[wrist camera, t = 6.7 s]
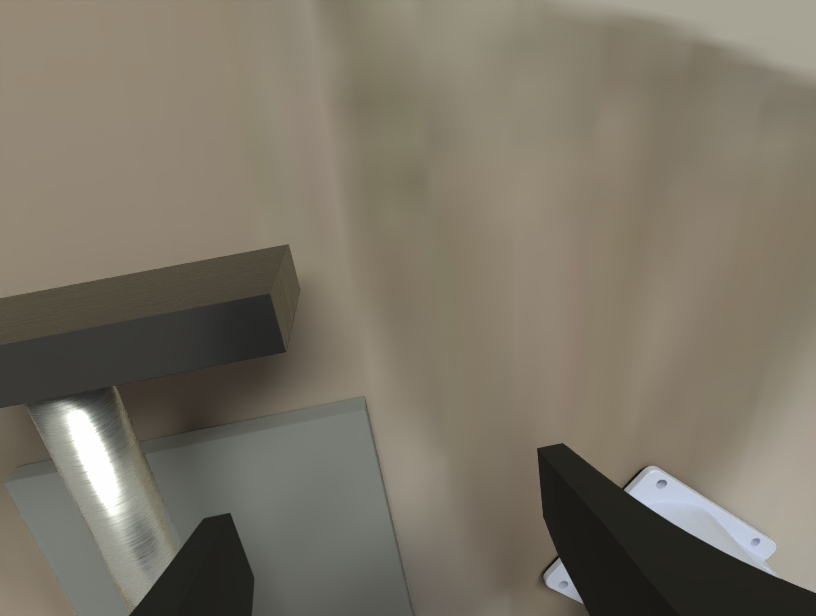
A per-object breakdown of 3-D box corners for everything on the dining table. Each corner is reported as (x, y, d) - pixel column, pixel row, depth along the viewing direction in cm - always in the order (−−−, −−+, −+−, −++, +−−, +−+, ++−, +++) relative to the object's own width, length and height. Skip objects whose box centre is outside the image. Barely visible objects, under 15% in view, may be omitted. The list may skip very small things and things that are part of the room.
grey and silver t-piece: (-115, 320, 16) (-280, 398, 12) (288, 244, 16) (269, 293, 12) (139, 758, 24) (95, 898, 20) (404, 698, 24) (417, 821, 20)
